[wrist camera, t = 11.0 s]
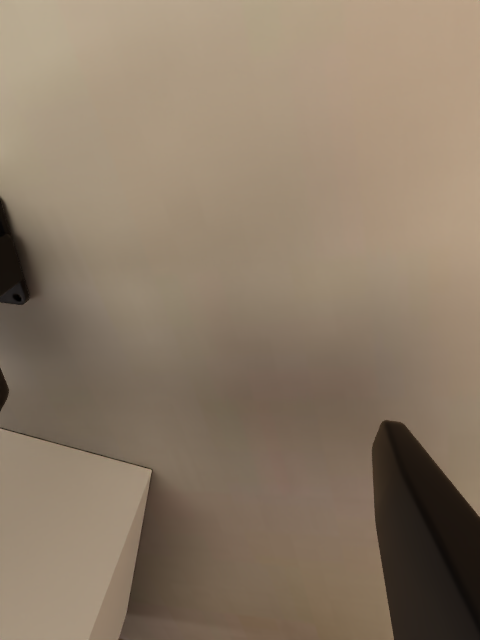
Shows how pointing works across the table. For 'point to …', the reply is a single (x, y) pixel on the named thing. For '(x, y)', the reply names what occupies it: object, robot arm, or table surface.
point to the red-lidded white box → (66, 540)
